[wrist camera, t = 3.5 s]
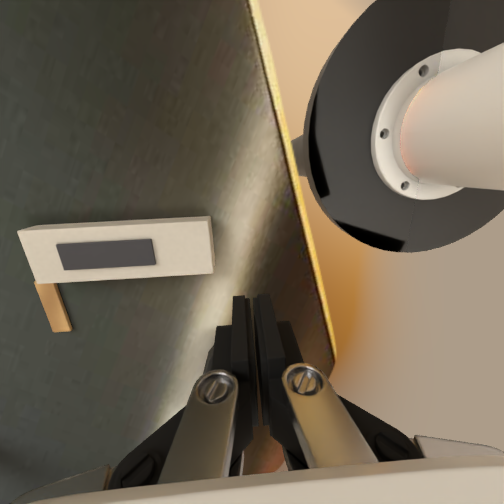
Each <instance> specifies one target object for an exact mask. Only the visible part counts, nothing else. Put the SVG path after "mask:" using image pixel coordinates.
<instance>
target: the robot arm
mask: <svg viewBox="0 0 504 504" xmlns="http://www.w3.org/2000/svg"><path fill="white" fill-rule="evenodd" d="M380 132H381V137H380ZM371 154H372V159H373V164H374V167H375V169H376V171H377V174H378V176H379V177H380V178H381V180H382V181H383V182H384V184H385V185H386V186H387V187H389V188H390V189H391V190H392V191H394V192H396V193H397V194H399V195H401V196H405V197H408V198H412V199H420V200H431V199H438V198H442V197H446V196H448V195H451V194H453V193H455V192H457V191H459V190H461V189H462V188H464V187H469V188H481V189H493V190H504V43H502V44H499V45H497V46H495V47H493V48H491V49H489V50H487V51H485V52H483V53H480V52H477V51H474V50H470V49H459V48H458V49H452V50H445V51H442V52H439V53H437V54H434V55H431V56H429V57H427V58H426V59H424V60H422V61H420V62H419V63H417V64H416V65H414V66H413V67H412V68H410V69H409V70H407V71H406V72H405V73H404V74H403V75H402V76H401V77H400V78H399V79H398V80H397V81H396V82H395V83H394V84H393V85H392V87H391V88H390V90H389V91H388V92H387V94H386V95H385V97H384V99H383V101H382V103H381V105H380V107H379V109H378V111H377V114H376V117H375V120H374V123H373V127H372V134H371ZM253 307H254V327H255V347H256V358H257V368H258V378H259V388H260V398H261V408H262V417H263V426H265V425H269V429H270V436H272V437H273V438H274V439H275V440H277V441H278V442H279V443H280V444H281V445H282V448H283V454H284V457H285V461H286V464H287V467H288V471H285V472H274V473H264V474H254V475H245V476H242V472H243V462H244V449H245V448H246V447H247V446H248V444H249V443H250V442H251V441H252V440H253V427H254V426H259V423H258V404H257V385H256V365H255V352H254V341H253V331H252V320H251V310H250V299H249V298H246V299H245V295H244V296H233V310H232V325H226V326H217V328H216V335H215V343H214V350H213V358H212V365H211V371H210V372H207V373H205V374H204V375H202V376H201V377H200V378H199V379H198V380H197V381H196V383H195V385H194V386H193V389H192V392H191V394H190V397H189V400H188V402H187V405H186V406H185V407H184V408H183V409H181V410H180V411H179V412H178V413H177V414H175V415H174V416H173V417H172V418H171V419H170V420H168V421H167V422H166V423H165V424H164V425H162V426H161V427H160V428H159V429H158V430H156V431H155V432H154V433H153V434H152V435H151V436H149V437H148V438H147V439H146V440H145V441H143V442H142V443H141V444H140V445H139V446H137V447H136V448H135V449H134V450H133V451H131V452H130V453H129V454H128V455H127V456H126V457H125V458H124V459H123V460H122V461H121V462H120V463H119V465H118V466H115V467H112V468H110V465H109V464H107V465H104V466H101V467H98V468H95V469H92V470H89V471H86V472H84V473H81V474H78V475H75V476H72V477H69V478H66V479H63V480H60V481H57V482H54V483H51V484H48V485H45V486H42V487H39V488H36V489H33V490H31V491H29V492H26V493H24V494H22V495H20V496H19V497H17V498H16V499H15V500H14V501H12V502H11V503H10V504H504V452H503V451H501V450H499V449H497V448H493V447H491V446H487V445H481V444H474V443H467V442H460V441H454V440H447V439H440V438H433V437H427V436H420V435H415V436H414V439H412V438H408V437H407V436H406V435H404V434H403V433H402V432H400V431H399V430H397V429H396V428H394V427H392V426H391V425H389V424H387V423H385V422H384V421H382V420H380V419H379V418H377V417H375V416H373V415H371V414H370V413H368V412H366V411H365V410H363V409H361V408H360V407H358V406H356V405H355V404H353V403H351V402H349V401H348V400H346V399H344V398H342V397H341V396H339V395H337V394H336V392H335V390H334V389H333V387H332V385H331V384H330V382H329V381H328V379H327V377H326V376H325V374H324V373H323V372H322V371H321V370H320V369H318V368H317V367H316V366H313V365H311V364H307V363H304V362H303V359H302V356H301V353H300V350H299V347H298V344H297V341H296V338H295V335H294V333H293V330H292V327H291V324H290V322H289V321H280V322H276V318H275V314H274V311H273V307H272V303H271V299H270V295H269V294H258V295H257V298H253Z"/></svg>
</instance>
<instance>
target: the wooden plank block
mask: <svg viewBox="0 0 504 504" xmlns="http://www.w3.org/2000/svg"><path fill="white" fill-rule="evenodd" d="M34 283H35V286H36V289H37V291H38V294H39V296H40V299H41V302H42V304H43V307H44V309H45V312H46V314H47V317H48V320H49V322H50V325H51V327H52V330H53V332H64V331H71V330H72V326H71V323H70V320H69V317H68V314H67V312H66V309H65V306H64V303H63V300H62V298H61V295H60V292H59V289H58V286H57V283H47V284H37V282H36V281H35V282H34Z"/></svg>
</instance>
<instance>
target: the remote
mask: <svg viewBox="0 0 504 504" xmlns="http://www.w3.org/2000/svg"><path fill="white" fill-rule="evenodd" d="M17 233H18V235H19V238H20V240H21V243H22V246H23V248H24V251H25V253H26V256H27V259H28V261H29V264H30V266H31V269H32V272H33V274H34V277H35V280H36V282H37V284H47V283H64V282H80V281H97V280H114V279H130V278H147V277H163V276H180V275H197V274H213V273H214V269H215V265H216V263H215V253H214V243H213V234H212V224H211V216H201V217H182V218H163V219H145V220H126V221H107V222H88V223H70V224H51V225H37V226H33V227H29V228H26V229H22V230H19V231H17Z"/></svg>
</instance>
